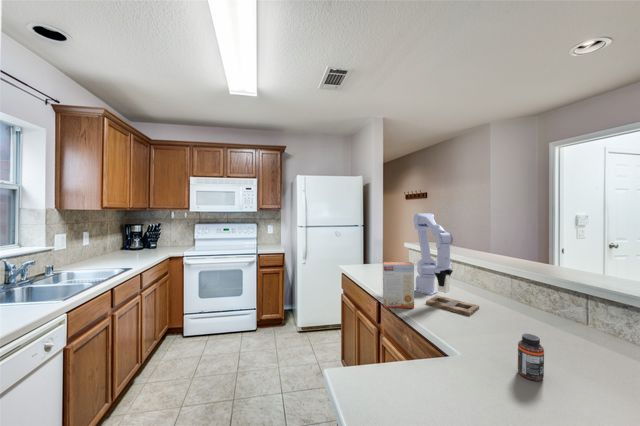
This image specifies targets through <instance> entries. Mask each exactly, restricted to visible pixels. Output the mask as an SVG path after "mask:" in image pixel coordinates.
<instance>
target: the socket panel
mask: <svg viewBox="0 0 640 426" xmlns="http://www.w3.org/2000/svg"><path fill="white" fill-rule="evenodd" d="M425 305H428V306H432V307H436V308H439V309H442V310H446V311H450V312H453V313H457V314H460V315H464V316H467V317H471V316H472V315H473V314H475V313H476V312H478V310H480V305H478V304H474V303H469V302H465V301H461V300H458V299H454V298H449V297H445V296H442V295H435V296H433V297H431V298H429V299H427V300H425Z"/></svg>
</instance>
